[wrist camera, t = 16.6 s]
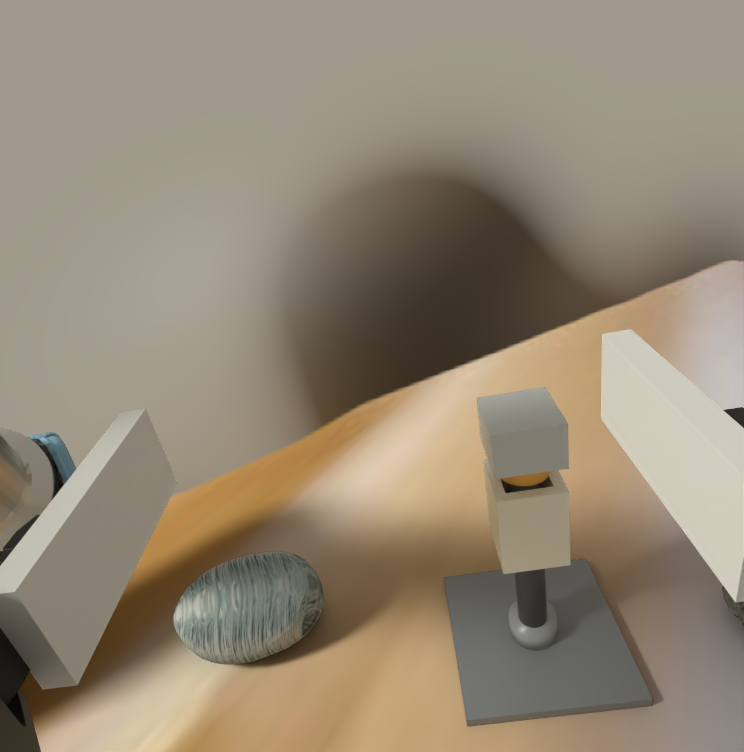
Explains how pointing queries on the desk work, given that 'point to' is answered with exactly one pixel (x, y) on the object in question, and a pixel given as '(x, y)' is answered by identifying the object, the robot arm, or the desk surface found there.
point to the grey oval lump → (249, 607)
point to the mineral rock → (734, 605)
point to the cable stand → (535, 598)
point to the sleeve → (529, 523)
